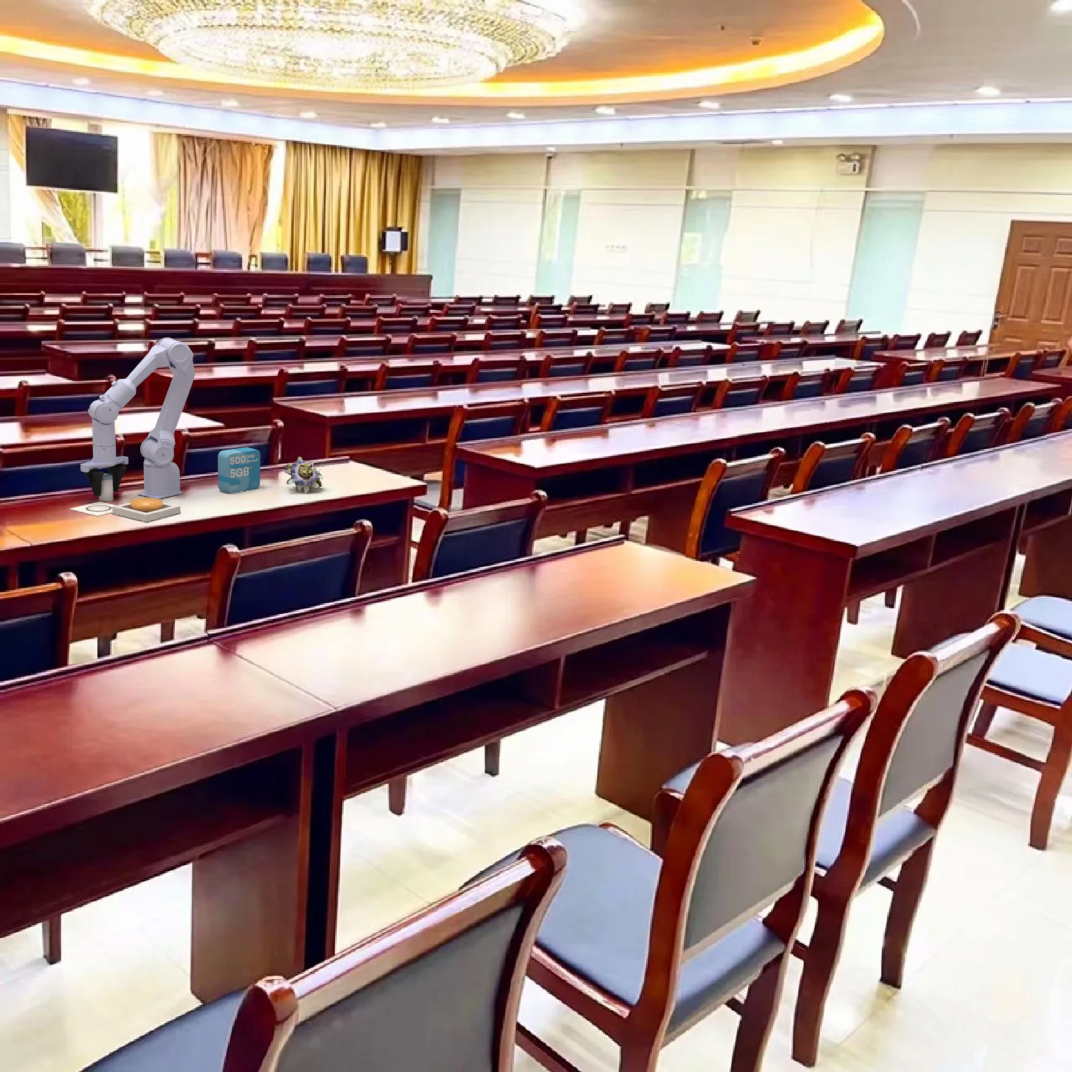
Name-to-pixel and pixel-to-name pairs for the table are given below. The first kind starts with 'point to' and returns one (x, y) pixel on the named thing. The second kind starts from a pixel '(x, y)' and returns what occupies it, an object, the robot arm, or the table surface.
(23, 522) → the table surface
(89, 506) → the paper sheet
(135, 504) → the button
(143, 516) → the button box
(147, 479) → the robot arm
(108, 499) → the white cylindrical piece
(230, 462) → the data package
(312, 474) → the passion flower
